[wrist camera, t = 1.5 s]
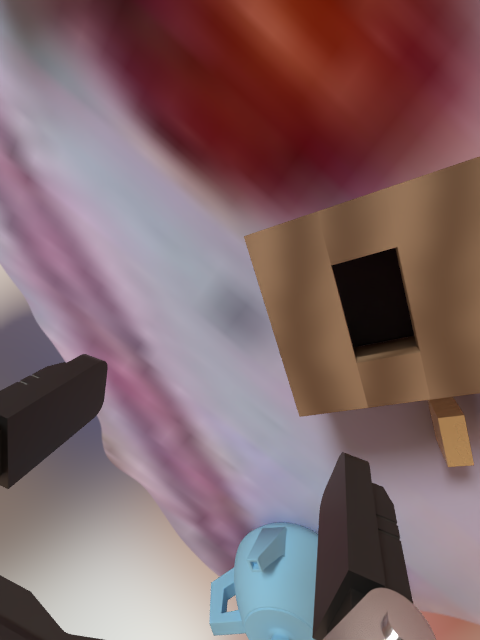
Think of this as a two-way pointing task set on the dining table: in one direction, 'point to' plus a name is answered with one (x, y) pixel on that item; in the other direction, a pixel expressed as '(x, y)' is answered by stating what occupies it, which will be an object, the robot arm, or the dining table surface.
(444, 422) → the wooden block
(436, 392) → the box
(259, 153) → the dining table surface
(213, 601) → the teapot
